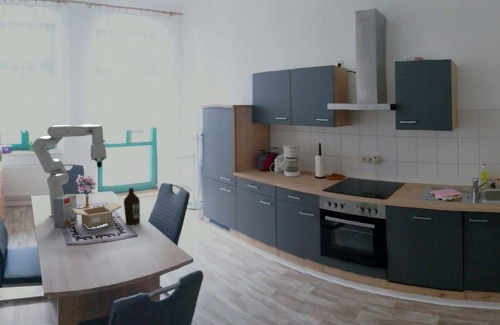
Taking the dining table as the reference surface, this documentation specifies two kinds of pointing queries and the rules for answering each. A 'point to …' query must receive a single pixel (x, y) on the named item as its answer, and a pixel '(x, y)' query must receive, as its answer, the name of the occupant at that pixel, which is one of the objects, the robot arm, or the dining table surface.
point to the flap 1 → (78, 211)
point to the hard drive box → (64, 210)
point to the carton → (97, 217)
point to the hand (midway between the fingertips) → (99, 167)
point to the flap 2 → (113, 206)
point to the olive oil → (132, 208)
